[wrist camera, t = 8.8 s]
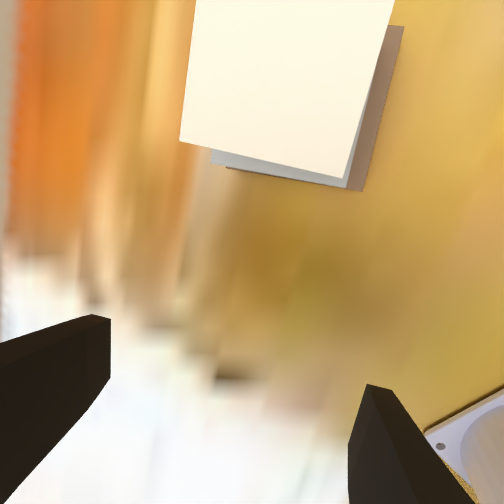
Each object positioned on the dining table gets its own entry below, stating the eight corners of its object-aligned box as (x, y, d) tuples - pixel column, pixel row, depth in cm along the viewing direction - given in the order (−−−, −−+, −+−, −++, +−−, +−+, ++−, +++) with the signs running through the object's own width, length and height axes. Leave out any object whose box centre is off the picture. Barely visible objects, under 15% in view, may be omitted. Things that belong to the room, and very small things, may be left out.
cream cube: (378, 32, 11) (405, -37, 7) (338, 168, 13) (342, 178, 8) (249, 11, 12) (204, -63, 8) (227, 142, 13) (178, 140, 9)
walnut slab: (392, 45, 15) (404, 26, 13) (357, 185, 17) (362, 191, 15) (256, 30, 16) (244, 11, 14) (238, 165, 18) (225, 168, 16)
